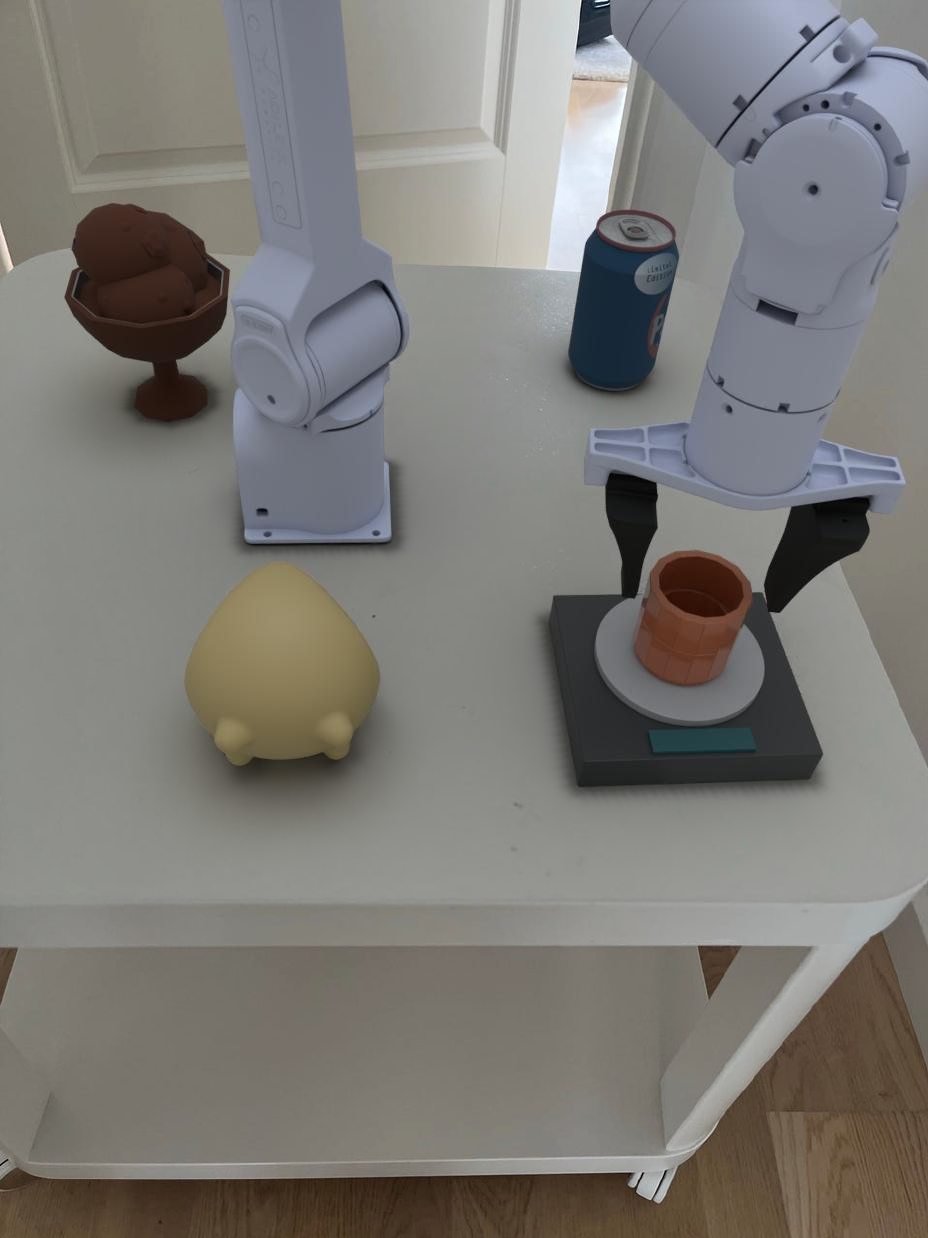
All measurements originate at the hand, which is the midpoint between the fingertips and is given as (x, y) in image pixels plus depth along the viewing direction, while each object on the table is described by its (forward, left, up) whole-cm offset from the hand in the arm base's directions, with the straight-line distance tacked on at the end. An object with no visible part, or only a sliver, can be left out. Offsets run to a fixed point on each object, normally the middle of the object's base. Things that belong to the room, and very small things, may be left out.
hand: (699, 592), depth 53 cm
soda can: (+2, +32, -8) cm, 33 cm away
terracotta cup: (0, 0, -5) cm, 5 cm away
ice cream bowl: (-32, +28, -8) cm, 43 cm away
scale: (0, -1, -8) cm, 8 cm away
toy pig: (-22, -2, -8) cm, 23 cm away
